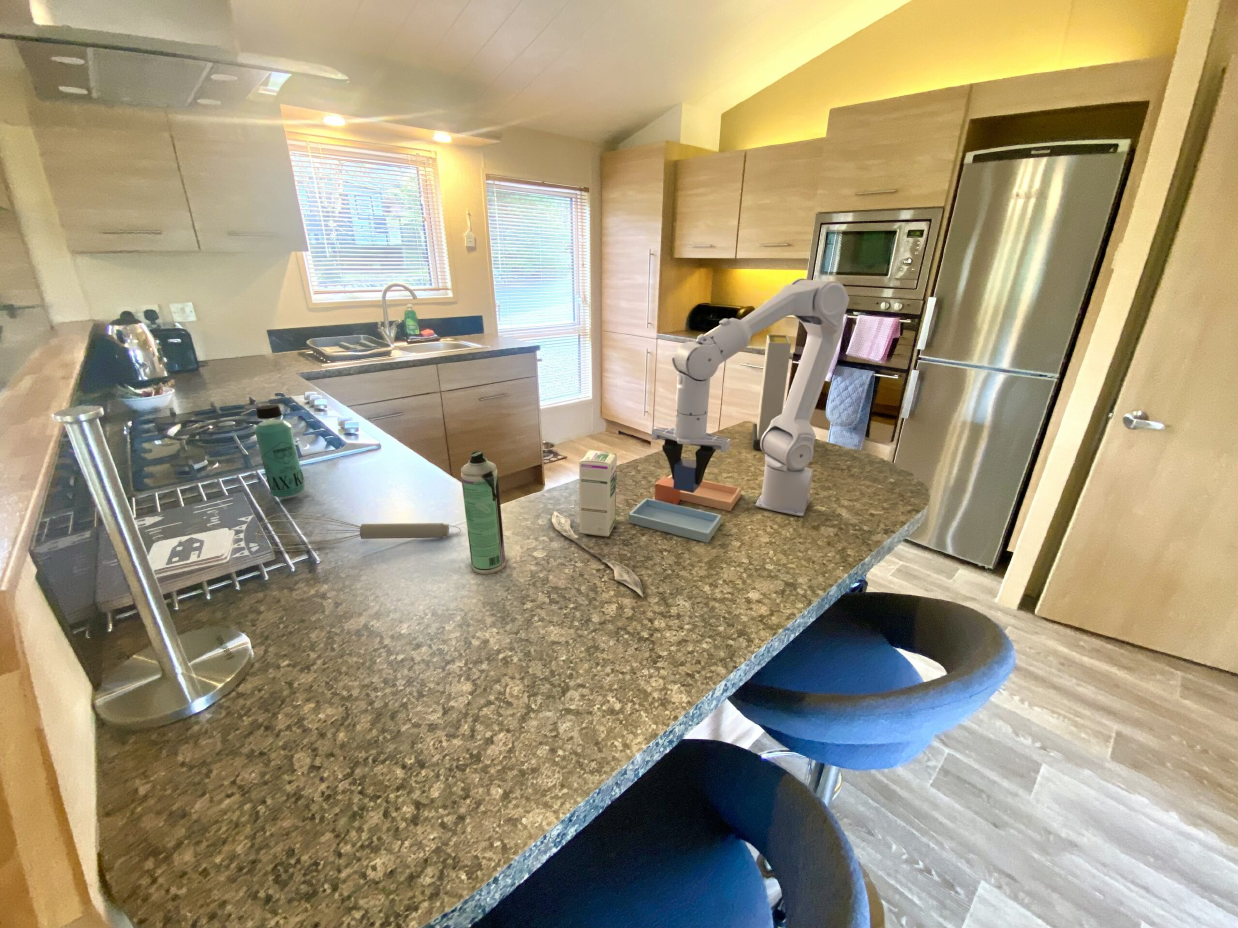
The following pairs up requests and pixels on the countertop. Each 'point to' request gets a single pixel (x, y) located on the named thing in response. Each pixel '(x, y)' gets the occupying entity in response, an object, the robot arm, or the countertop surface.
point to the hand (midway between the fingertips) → (687, 480)
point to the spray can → (483, 514)
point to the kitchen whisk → (372, 531)
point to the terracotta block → (666, 491)
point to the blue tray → (675, 519)
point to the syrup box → (597, 492)
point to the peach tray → (713, 495)
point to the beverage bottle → (278, 453)
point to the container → (772, 384)
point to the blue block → (685, 475)
